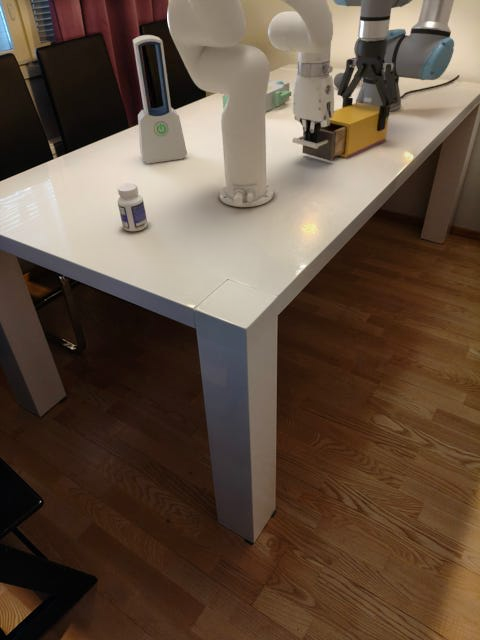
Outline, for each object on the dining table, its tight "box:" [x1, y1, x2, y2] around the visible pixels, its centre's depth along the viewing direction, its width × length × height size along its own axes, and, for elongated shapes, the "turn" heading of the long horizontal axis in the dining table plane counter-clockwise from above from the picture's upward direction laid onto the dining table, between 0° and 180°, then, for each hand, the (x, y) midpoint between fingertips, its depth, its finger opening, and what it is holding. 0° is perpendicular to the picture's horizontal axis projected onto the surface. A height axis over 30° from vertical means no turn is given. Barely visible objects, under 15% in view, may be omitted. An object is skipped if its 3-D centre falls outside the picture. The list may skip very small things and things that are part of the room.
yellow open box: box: [329, 102, 389, 159], centre depth 137 cm, size 18×11×9 cm, turn 134°
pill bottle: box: [117, 182, 148, 232], centre depth 102 cm, size 5×5×9 cm
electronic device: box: [132, 34, 188, 165], centre depth 130 cm, size 12×8×30 cm, turn 105°
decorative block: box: [221, 80, 292, 113], centre depth 175 cm, size 26×6×20 cm
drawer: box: [292, 123, 347, 162], centre depth 132 cm, size 22×10×7 cm, turn 134°
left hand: (310, 146), depth 127 cm, fingers closed
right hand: (363, 126), depth 140 cm, fingers closed on yellow open box, 11 cm apart
